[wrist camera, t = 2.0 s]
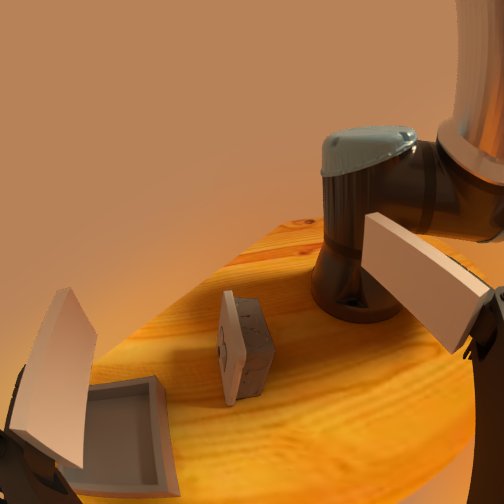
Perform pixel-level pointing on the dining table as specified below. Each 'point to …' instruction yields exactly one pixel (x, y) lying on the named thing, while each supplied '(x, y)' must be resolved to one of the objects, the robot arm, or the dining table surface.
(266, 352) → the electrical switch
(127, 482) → the box
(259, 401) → the dining table surface
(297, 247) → the dining table surface
